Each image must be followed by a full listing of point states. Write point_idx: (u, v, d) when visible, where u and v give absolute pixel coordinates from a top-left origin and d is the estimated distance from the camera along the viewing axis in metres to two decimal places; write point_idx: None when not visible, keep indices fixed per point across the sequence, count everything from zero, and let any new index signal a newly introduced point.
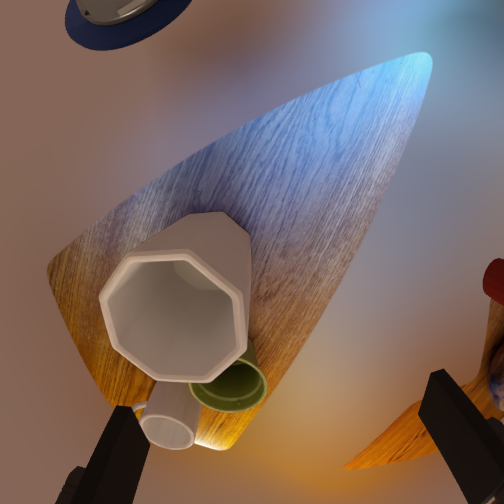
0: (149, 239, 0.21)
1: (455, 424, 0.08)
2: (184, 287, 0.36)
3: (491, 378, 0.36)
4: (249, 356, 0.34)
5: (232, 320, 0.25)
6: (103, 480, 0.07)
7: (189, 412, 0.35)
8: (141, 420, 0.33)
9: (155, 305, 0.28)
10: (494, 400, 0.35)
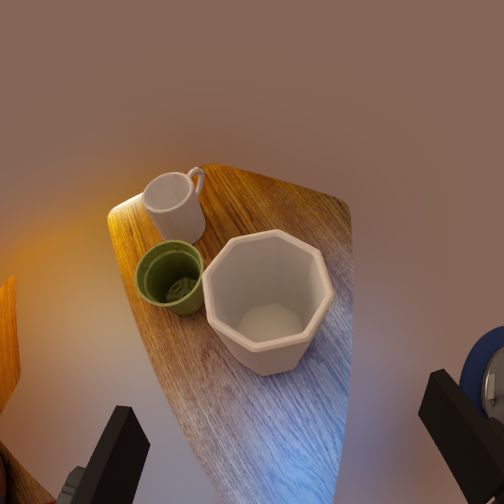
0: None
1: (455, 424, 0.08)
2: (260, 302, 0.40)
3: None
4: (175, 306, 0.37)
5: (224, 323, 0.28)
6: (103, 480, 0.07)
7: (167, 223, 0.42)
8: (191, 182, 0.42)
9: (271, 275, 0.33)
10: None
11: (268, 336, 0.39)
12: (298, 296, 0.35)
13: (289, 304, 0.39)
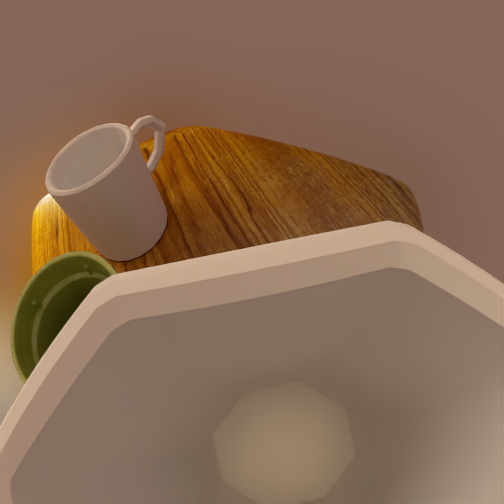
0: None
1: None
2: (267, 386, 0.17)
3: None
4: None
5: None
6: None
7: (83, 217, 0.19)
8: (130, 135, 0.19)
9: (304, 364, 0.11)
10: None
11: (281, 448, 0.16)
12: (364, 399, 0.12)
13: (330, 393, 0.16)
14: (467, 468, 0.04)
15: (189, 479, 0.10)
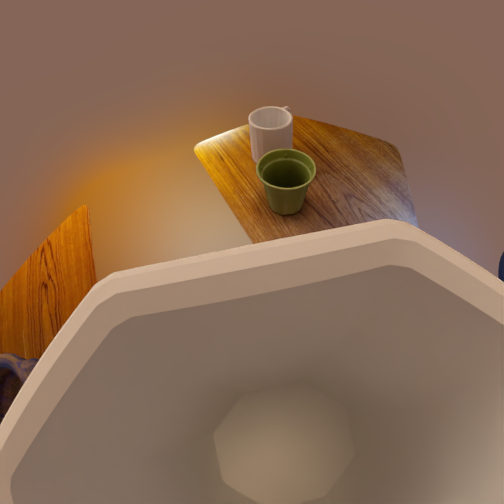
0: None
1: None
2: (267, 385, 0.17)
3: None
4: (292, 196, 0.45)
5: None
6: None
7: (271, 141, 0.50)
8: (289, 112, 0.50)
9: (304, 363, 0.11)
10: None
11: (281, 447, 0.16)
12: (364, 398, 0.12)
13: (330, 393, 0.16)
14: (467, 467, 0.04)
15: (189, 478, 0.10)
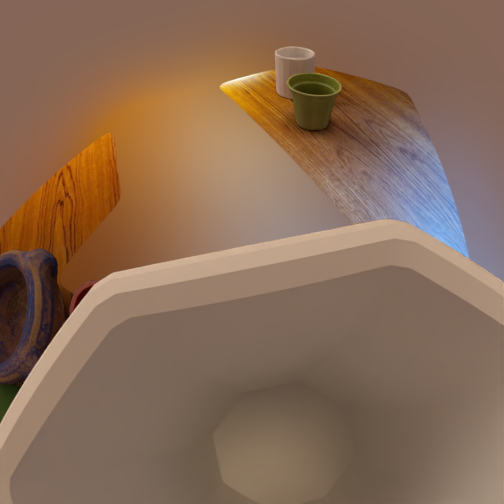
0: None
1: None
2: (267, 385, 0.17)
3: None
4: (320, 106, 0.43)
5: None
6: None
7: (297, 71, 0.49)
8: None
9: (304, 364, 0.11)
10: None
11: (281, 447, 0.16)
12: (364, 398, 0.12)
13: (330, 393, 0.16)
14: (467, 467, 0.04)
15: (189, 479, 0.10)
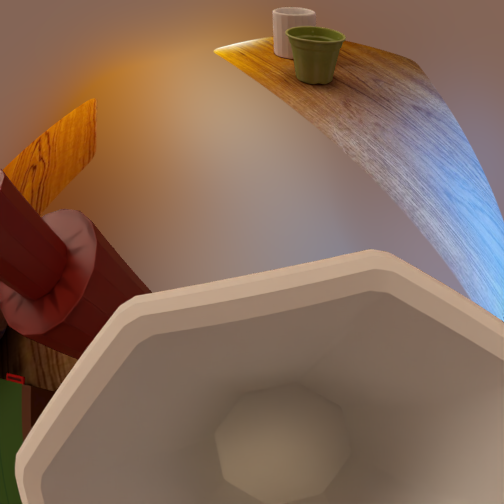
0: None
1: None
2: (266, 387, 0.18)
3: None
4: (323, 55, 0.35)
5: None
6: None
7: None
8: None
9: (300, 367, 0.11)
10: None
11: (280, 446, 0.17)
12: (358, 399, 0.13)
13: (326, 394, 0.17)
14: (451, 464, 0.05)
15: (193, 475, 0.11)
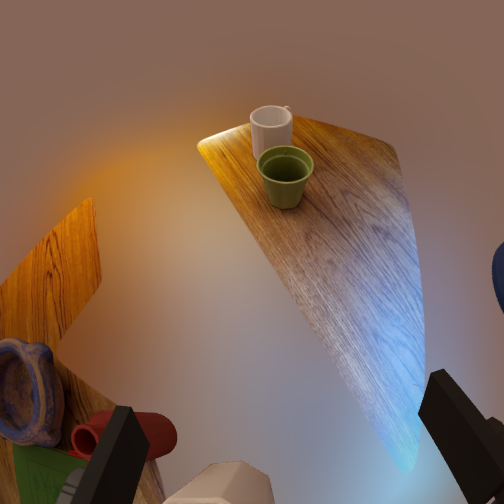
0: None
1: (455, 424, 0.08)
2: None
3: (52, 355, 0.35)
4: (290, 190, 0.47)
5: None
6: (103, 480, 0.07)
7: (272, 138, 0.52)
8: (289, 112, 0.52)
9: None
10: None
11: None
12: None
13: None
14: None
15: None
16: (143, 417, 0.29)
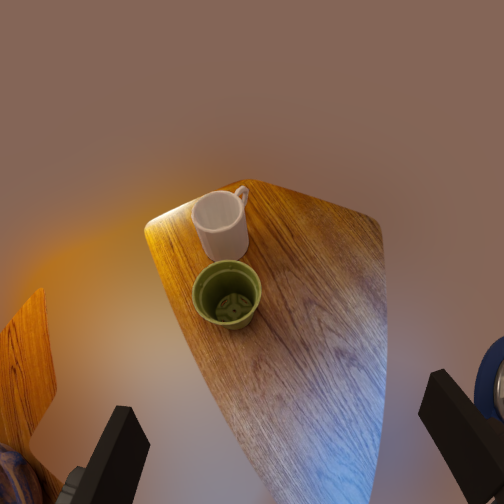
0: None
1: (455, 424, 0.08)
2: None
3: (24, 460, 0.27)
4: None
5: None
6: (103, 480, 0.07)
7: (218, 242, 0.45)
8: (241, 202, 0.45)
9: None
10: None
11: None
12: None
13: None
14: None
15: None
16: None
